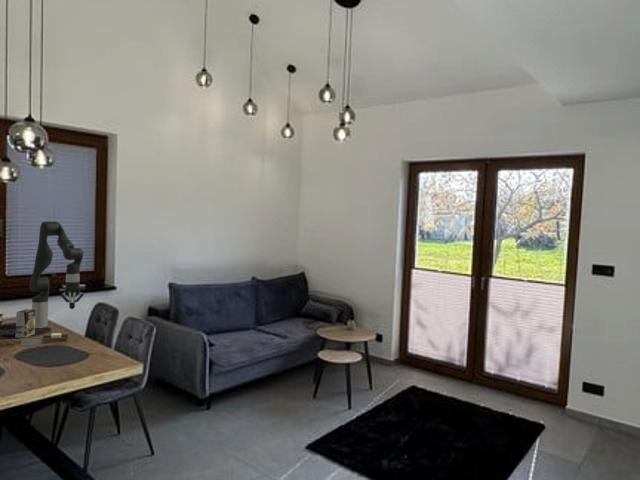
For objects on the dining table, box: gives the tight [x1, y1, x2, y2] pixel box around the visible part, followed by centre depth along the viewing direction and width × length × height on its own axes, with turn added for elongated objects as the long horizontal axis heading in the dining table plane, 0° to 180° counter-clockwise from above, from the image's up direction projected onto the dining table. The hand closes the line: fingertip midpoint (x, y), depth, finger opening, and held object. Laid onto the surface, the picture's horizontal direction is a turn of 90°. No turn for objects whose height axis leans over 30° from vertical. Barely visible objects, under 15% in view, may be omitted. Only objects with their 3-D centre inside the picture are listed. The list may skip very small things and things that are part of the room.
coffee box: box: [15, 308, 36, 339], centre depth 282 cm, size 9×6×16 cm
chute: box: [41, 333, 69, 345], centre depth 274 cm, size 12×13×3 cm
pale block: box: [50, 332, 62, 338], centre depth 275 cm, size 5×5×4 cm
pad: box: [19, 338, 43, 346], centre depth 269 cm, size 12×11×1 cm
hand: (71, 308), depth 277 cm, fingers closed
